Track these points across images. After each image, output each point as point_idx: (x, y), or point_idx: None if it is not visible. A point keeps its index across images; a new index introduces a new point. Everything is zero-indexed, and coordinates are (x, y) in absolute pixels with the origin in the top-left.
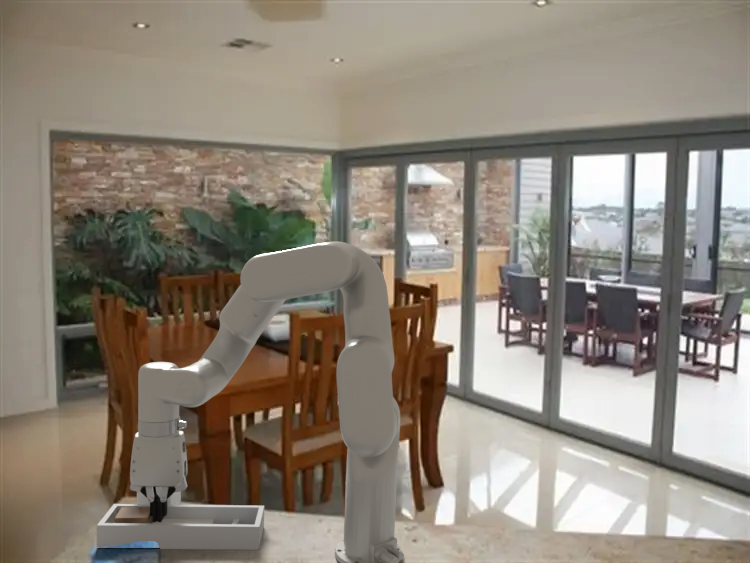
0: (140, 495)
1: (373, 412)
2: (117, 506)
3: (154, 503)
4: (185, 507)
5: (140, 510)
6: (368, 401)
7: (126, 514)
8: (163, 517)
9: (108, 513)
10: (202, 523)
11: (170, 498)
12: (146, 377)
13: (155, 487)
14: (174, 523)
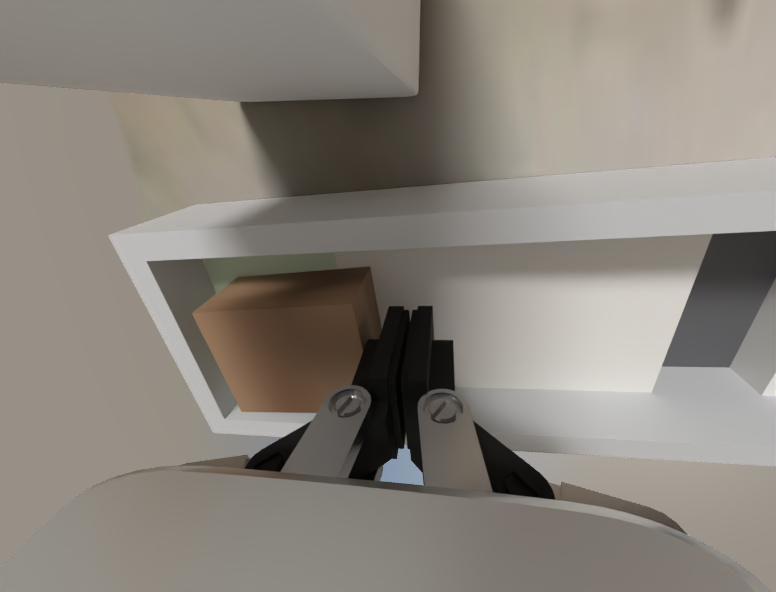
0: (161, 94)
1: None
2: (149, 261)
3: (393, 455)
4: (554, 240)
5: (306, 345)
6: None
7: (267, 385)
8: (433, 326)
9: (175, 346)
10: (640, 271)
11: (404, 83)
12: None
13: (347, 471)
14: (482, 276)
